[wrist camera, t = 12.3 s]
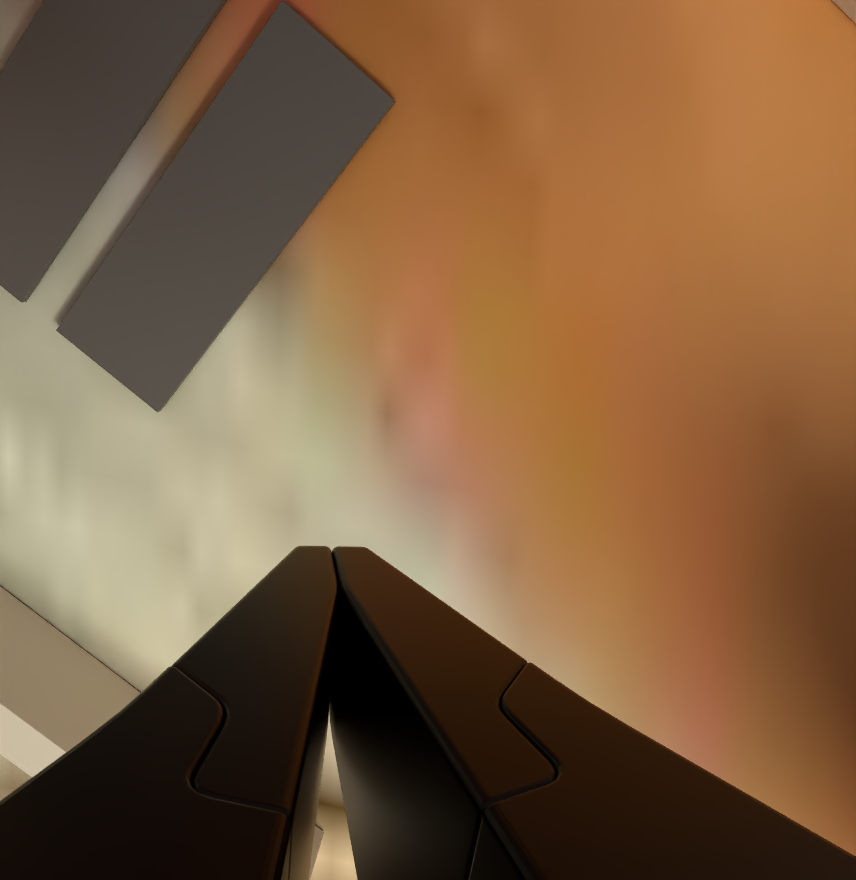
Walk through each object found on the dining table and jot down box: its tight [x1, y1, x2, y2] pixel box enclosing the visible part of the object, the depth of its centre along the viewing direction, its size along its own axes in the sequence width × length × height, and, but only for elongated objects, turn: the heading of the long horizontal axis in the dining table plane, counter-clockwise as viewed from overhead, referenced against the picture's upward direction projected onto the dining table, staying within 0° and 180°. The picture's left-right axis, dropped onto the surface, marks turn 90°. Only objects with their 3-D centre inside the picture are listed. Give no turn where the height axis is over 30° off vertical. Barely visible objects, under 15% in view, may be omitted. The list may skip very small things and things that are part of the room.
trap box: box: [0, 0, 856, 880], centre depth 16 cm, size 29×25×5 cm
